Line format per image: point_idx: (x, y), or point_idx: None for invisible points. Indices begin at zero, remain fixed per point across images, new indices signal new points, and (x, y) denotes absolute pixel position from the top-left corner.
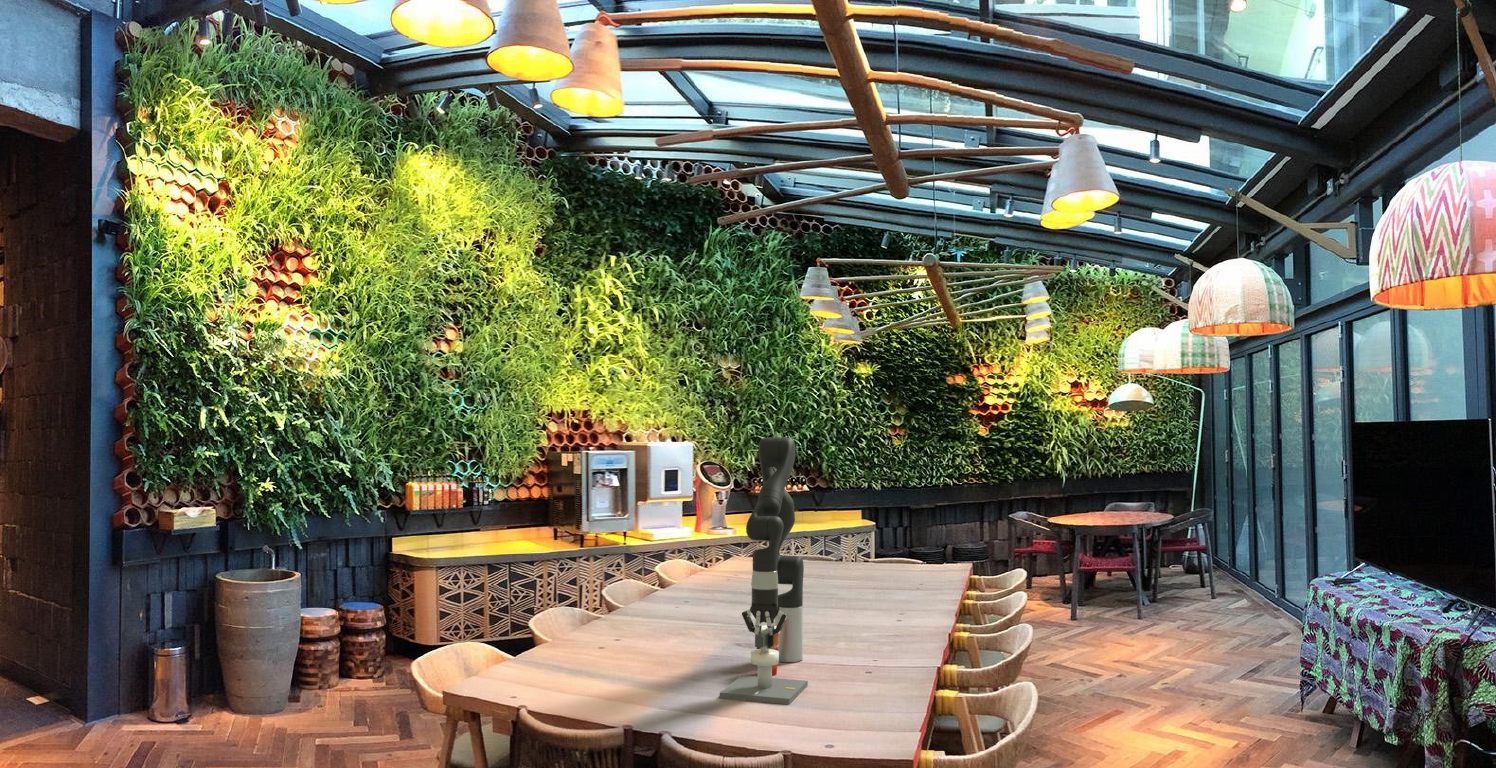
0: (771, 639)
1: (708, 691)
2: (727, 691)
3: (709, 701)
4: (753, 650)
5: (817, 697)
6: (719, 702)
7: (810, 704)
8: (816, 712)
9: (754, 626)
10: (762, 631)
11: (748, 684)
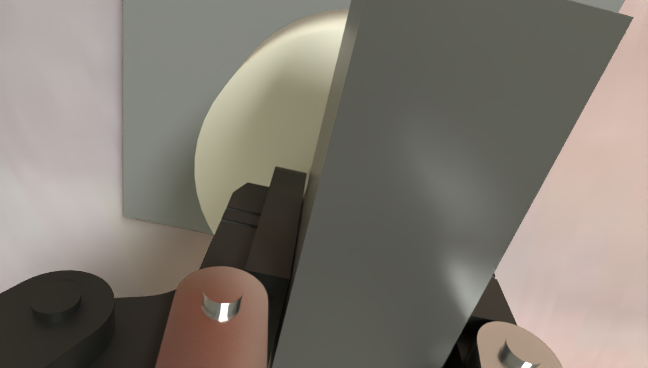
0: None
1: (29, 86)
2: (155, 196)
3: (107, 248)
4: (213, 132)
5: (636, 157)
6: (155, 258)
7: (564, 264)
8: (561, 350)
9: (71, 358)
10: (301, 321)
11: (238, 40)
